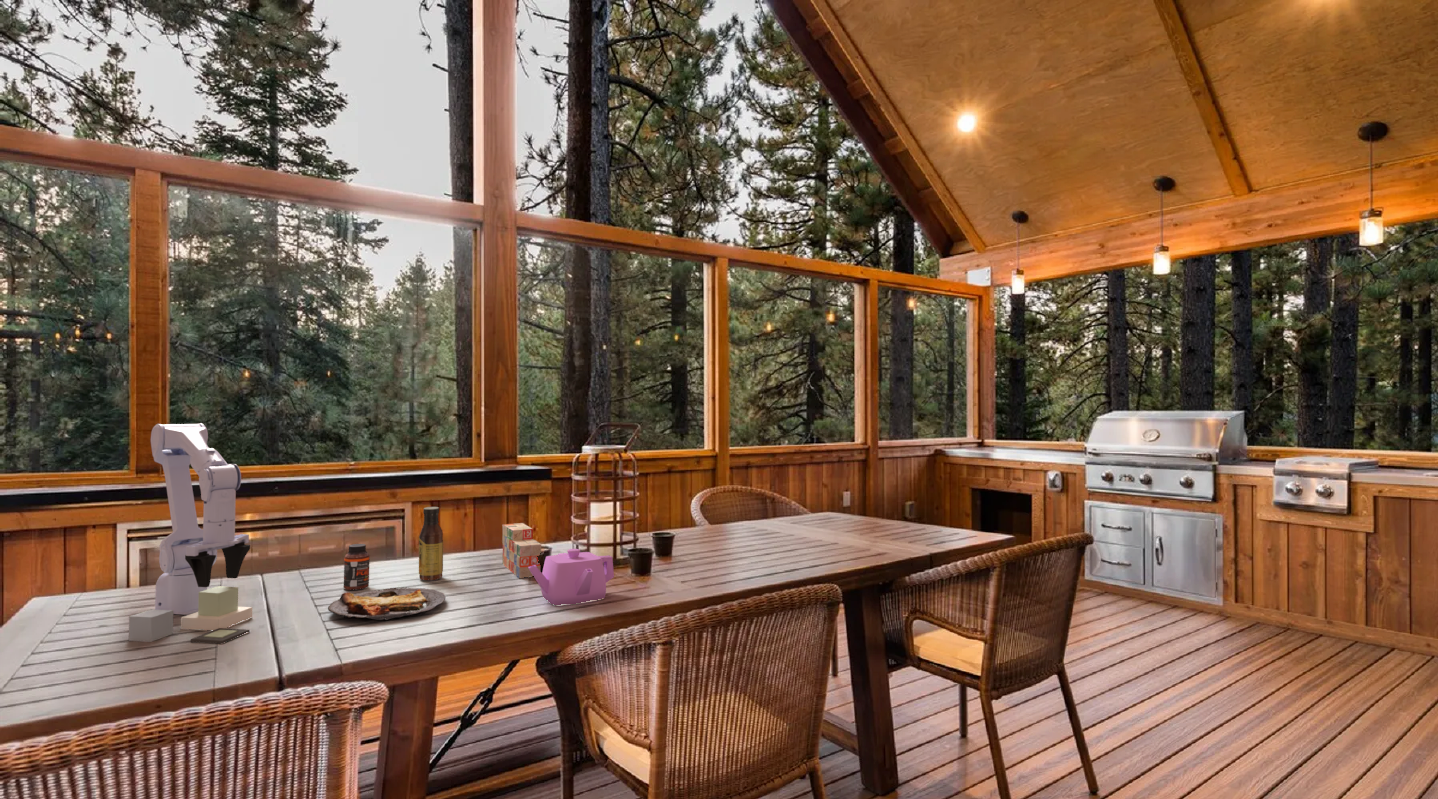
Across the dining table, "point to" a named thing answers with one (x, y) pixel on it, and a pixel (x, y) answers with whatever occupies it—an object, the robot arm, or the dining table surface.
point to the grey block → (150, 625)
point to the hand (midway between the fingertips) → (218, 582)
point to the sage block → (218, 601)
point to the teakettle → (574, 577)
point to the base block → (215, 619)
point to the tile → (219, 635)
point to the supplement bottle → (356, 568)
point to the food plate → (386, 603)
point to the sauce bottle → (431, 546)
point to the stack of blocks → (519, 549)
